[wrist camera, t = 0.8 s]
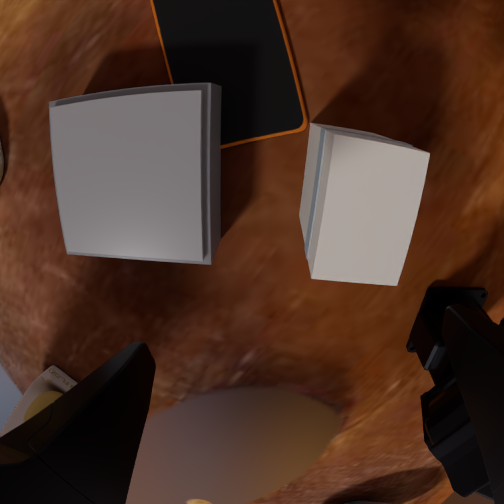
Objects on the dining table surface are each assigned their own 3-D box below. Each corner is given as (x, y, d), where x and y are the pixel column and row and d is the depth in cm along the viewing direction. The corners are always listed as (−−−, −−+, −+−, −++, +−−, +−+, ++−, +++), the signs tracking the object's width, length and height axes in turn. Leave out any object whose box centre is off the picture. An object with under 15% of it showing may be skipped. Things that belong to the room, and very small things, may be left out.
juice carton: (114, 402, 31) (46, 580, 10) (93, 421, 34) (35, 568, 13) (48, 354, 29) (-49, 522, 8) (36, 380, 32) (-41, 520, 11)
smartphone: (192, 155, 20) (189, 157, 19) (140, -53, 13) (136, -57, 12) (310, 129, 19) (312, 130, 18) (247, -85, 12) (246, -90, 11)
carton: (374, 132, 18) (431, 152, 11) (358, 222, 21) (397, 286, 13) (309, 121, 18) (333, 132, 11) (298, 216, 21) (309, 279, 14)
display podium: (222, 86, 17) (209, 82, 14) (220, 239, 22) (209, 268, 18) (79, 99, 18) (45, 102, 14) (91, 232, 22) (64, 256, 19)
